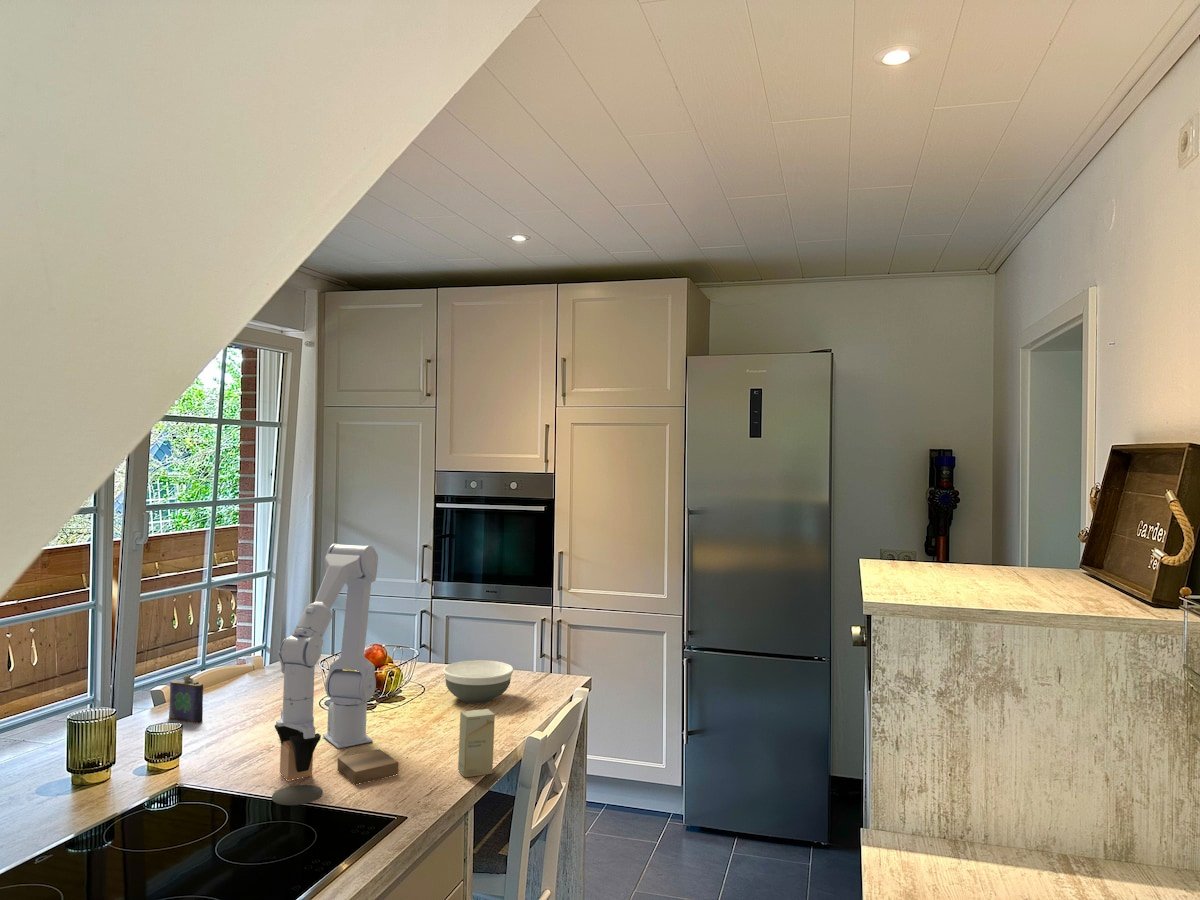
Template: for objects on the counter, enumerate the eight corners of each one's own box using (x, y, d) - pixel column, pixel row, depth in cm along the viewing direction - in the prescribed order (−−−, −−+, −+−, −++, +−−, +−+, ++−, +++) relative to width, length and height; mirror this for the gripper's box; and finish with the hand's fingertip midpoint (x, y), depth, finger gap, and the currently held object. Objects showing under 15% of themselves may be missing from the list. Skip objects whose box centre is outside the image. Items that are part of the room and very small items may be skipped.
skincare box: (464, 778, 163) (465, 717, 164) (457, 770, 167) (459, 711, 167) (493, 773, 166) (495, 713, 166) (486, 766, 170) (488, 707, 170)
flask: (166, 719, 194) (168, 674, 194) (176, 715, 197) (178, 671, 197) (196, 724, 191) (198, 678, 191) (206, 720, 194) (208, 675, 194)
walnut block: (337, 772, 166) (337, 757, 166) (379, 763, 171) (379, 749, 171) (354, 787, 159) (355, 771, 159) (398, 777, 164) (398, 762, 164)
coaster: (265, 794, 154) (265, 791, 154) (313, 784, 160) (313, 780, 160) (280, 811, 147) (280, 808, 147) (329, 799, 152) (329, 796, 152)
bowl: (477, 685, 230) (477, 656, 231) (527, 698, 219) (528, 667, 220) (427, 700, 215) (428, 668, 215) (478, 714, 204) (479, 681, 204)
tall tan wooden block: (279, 773, 163) (280, 741, 163) (303, 768, 166) (305, 736, 166) (287, 781, 160) (288, 748, 160) (312, 776, 162) (313, 743, 163)
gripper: (266, 690, 166) (264, 758, 166) (290, 708, 155) (287, 780, 155) (301, 685, 171) (299, 751, 170) (326, 702, 159) (324, 772, 159)
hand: (296, 764), depth 163 cm, fingers open, 7 cm apart
